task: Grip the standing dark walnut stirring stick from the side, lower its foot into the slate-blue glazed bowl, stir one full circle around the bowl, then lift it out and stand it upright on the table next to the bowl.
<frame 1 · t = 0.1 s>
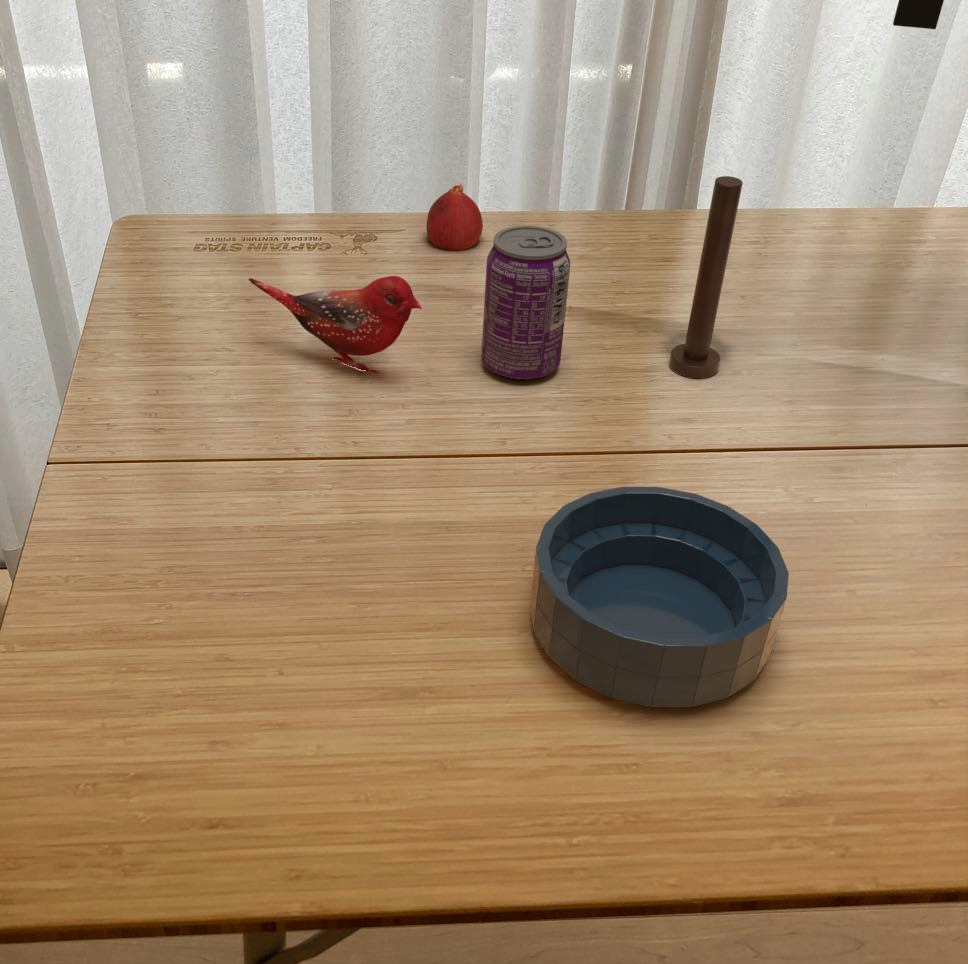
hand: (910, 3, 80), 31 cm above the table, tool pointing down, fingers open, 13 cm apart
stirring stick: (693, 366, 101), on the table
beverage can: (519, 367, 101), on the table
bowl: (647, 628, 74), on the table
red pomegranate: (453, 259, 118), on the table
decorative bird figurine: (334, 365, 100), on the table
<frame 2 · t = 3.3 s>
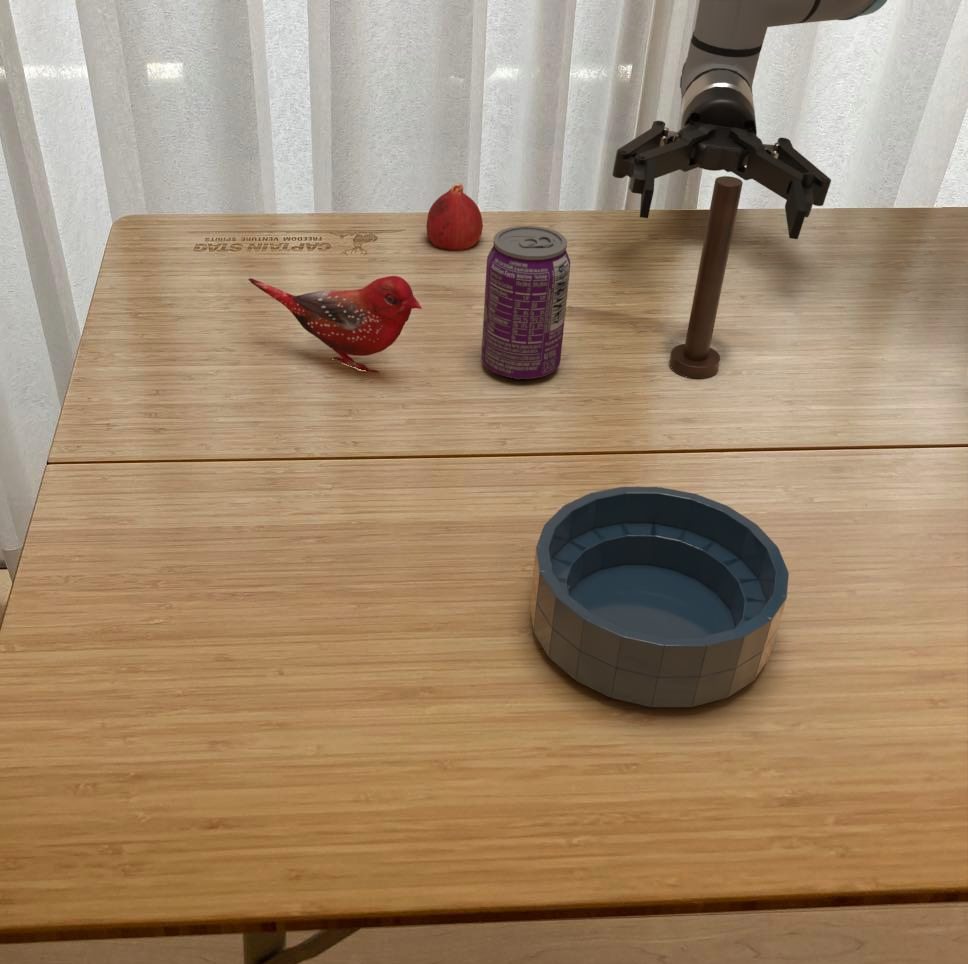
hand: (721, 214, 100), 11 cm above the table, tool horizontal, fingers open, 13 cm apart
nothing on the table moved.
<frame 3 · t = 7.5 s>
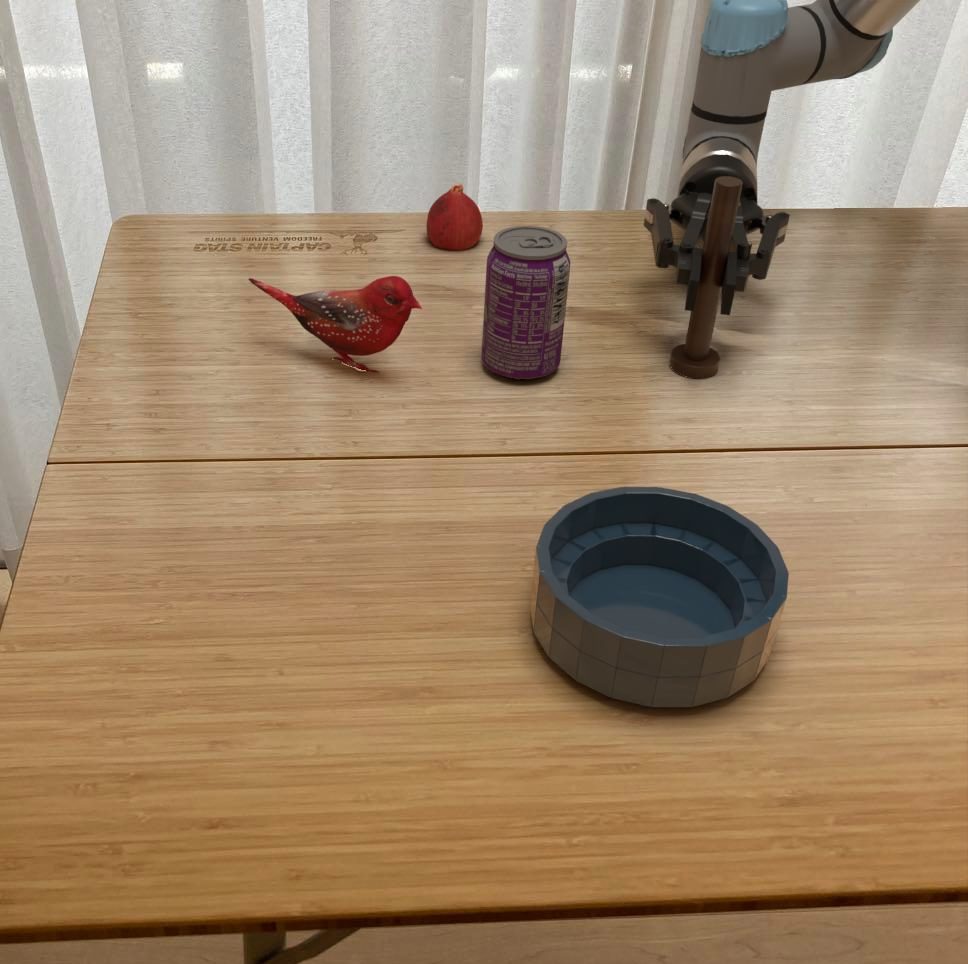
hand: (710, 297, 91), 10 cm above the table, tool horizontal, fingers closed on stirring stick, 2 cm apart
stirring stick: (693, 366, 101), on the table, touching gripper
everything else where it was.
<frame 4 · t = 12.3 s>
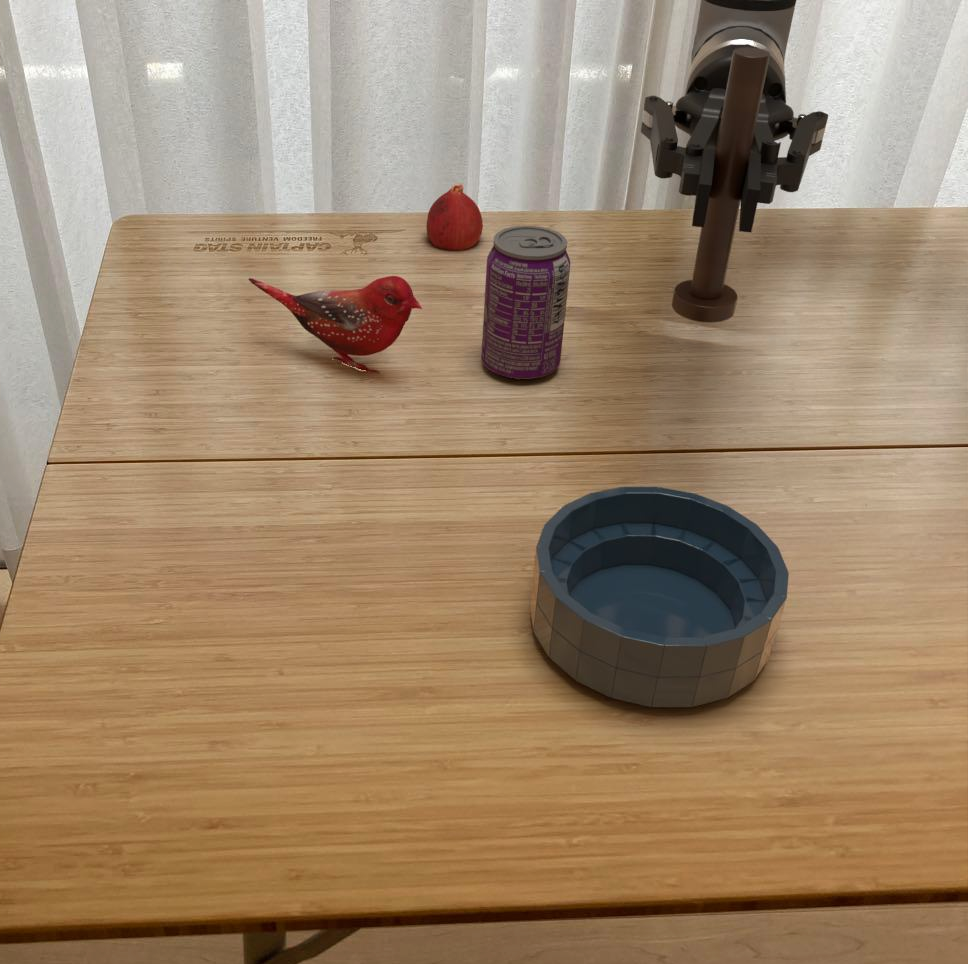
hand: (725, 208, 68), 24 cm above the table, tool horizontal, fingers closed on stirring stick, 2 cm apart
stirring stick: (702, 308, 79), point 14 cm above the table, touching gripper
everything else where it was.
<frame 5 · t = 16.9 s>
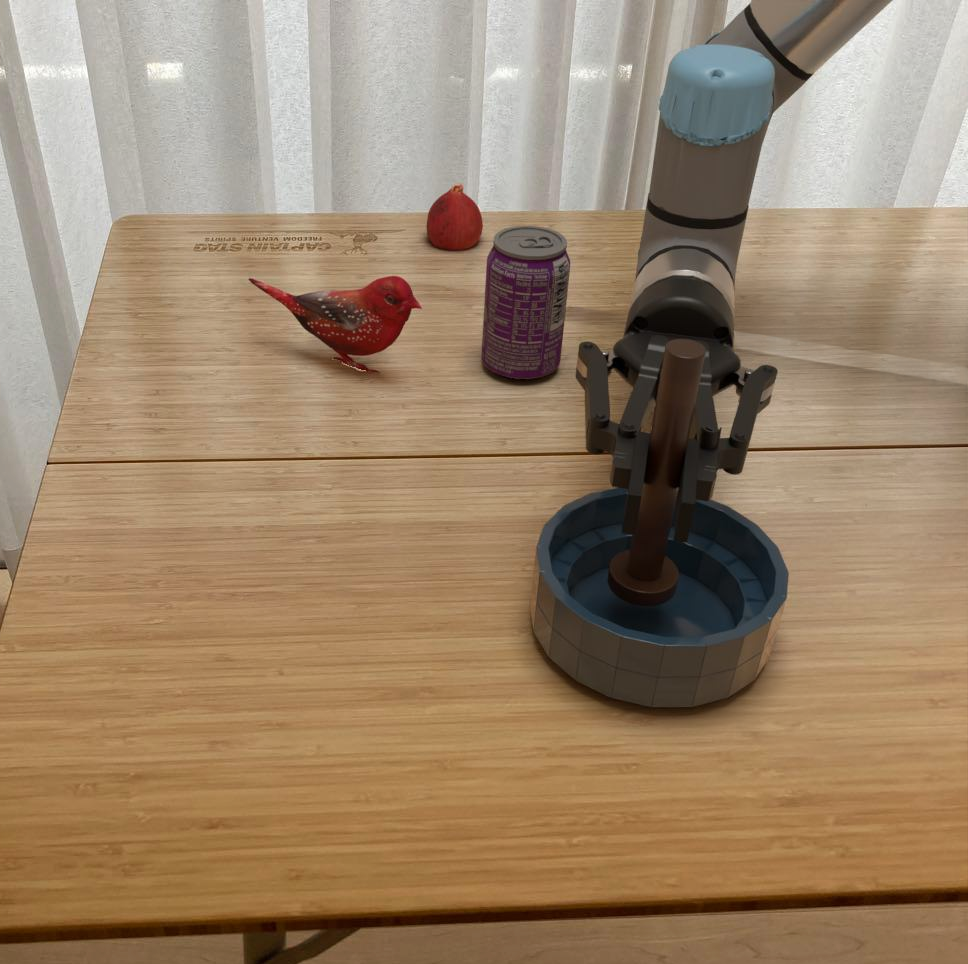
hand: (657, 518, 62), 13 cm above the table, tool horizontal, fingers closed on stirring stick, 2 cm apart
stirring stick: (641, 584, 72), point 4 cm above the table, touching gripper
everything else where it was.
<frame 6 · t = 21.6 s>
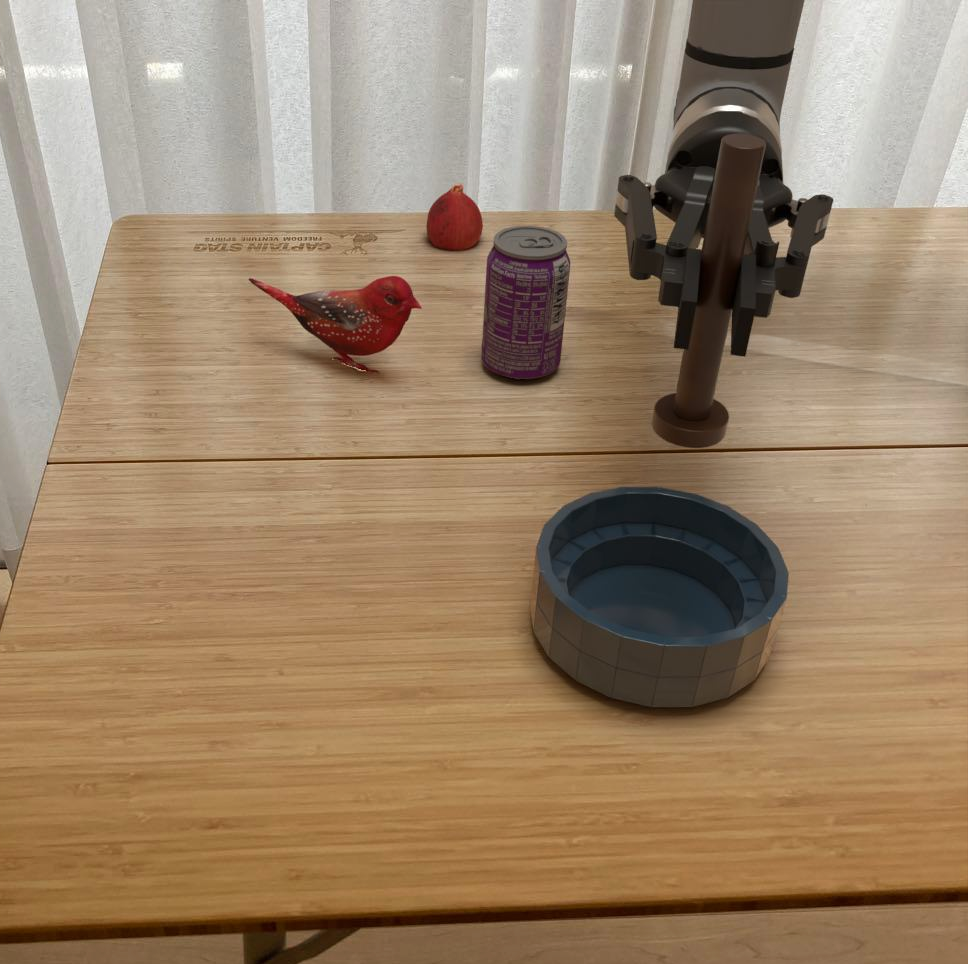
hand: (714, 328, 57), 24 cm above the table, tool horizontal, fingers closed on stirring stick, 2 cm apart
stirring stick: (688, 428, 67), point 14 cm above the table, touching gripper
everything else where it was.
when the fingers open (9 cm above the table, at t = 26.2 s): stirring stick stays where it is, on the table.
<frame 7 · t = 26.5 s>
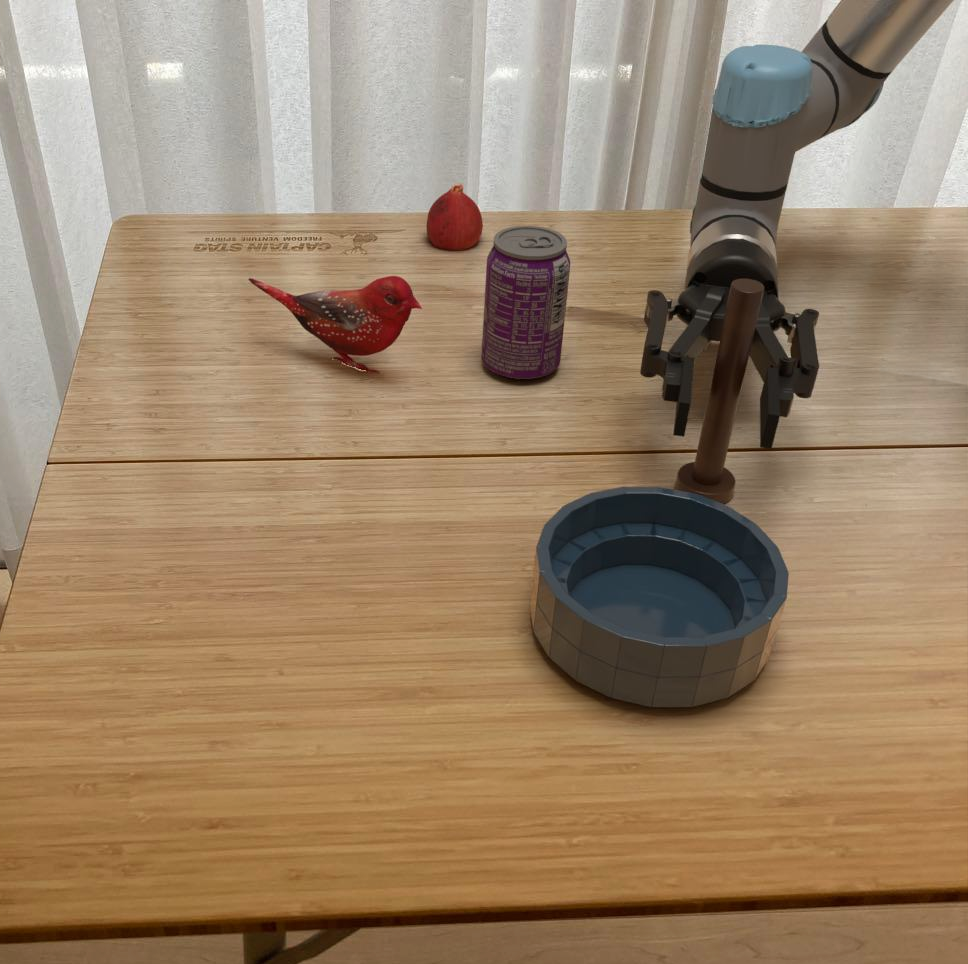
hand: (725, 425, 76), 9 cm above the table, tool horizontal, fingers open, 5 cm apart
stirring stick: (703, 489, 86), on the table
everything else where it was.
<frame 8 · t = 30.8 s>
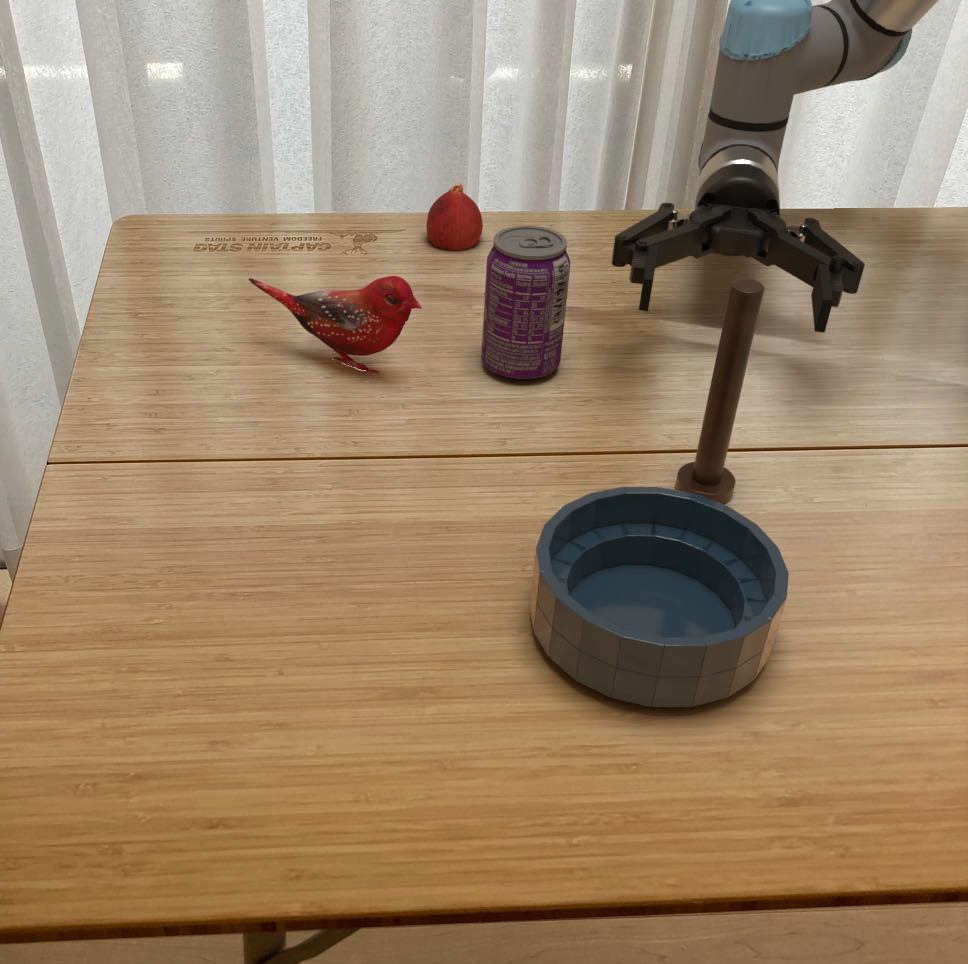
hand: (733, 306, 86), 11 cm above the table, tool horizontal, fingers open, 13 cm apart
nothing on the table moved.
at the end: stirring stick 0.1 cm from the target spot on the table beside the bowl, on the table; stirring stick tilted 0°; the gripper is holding nothing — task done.
